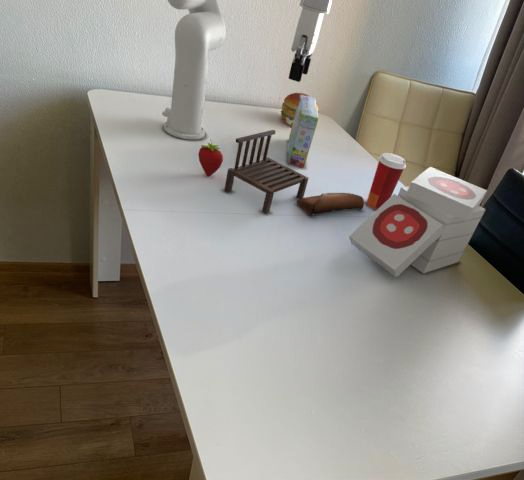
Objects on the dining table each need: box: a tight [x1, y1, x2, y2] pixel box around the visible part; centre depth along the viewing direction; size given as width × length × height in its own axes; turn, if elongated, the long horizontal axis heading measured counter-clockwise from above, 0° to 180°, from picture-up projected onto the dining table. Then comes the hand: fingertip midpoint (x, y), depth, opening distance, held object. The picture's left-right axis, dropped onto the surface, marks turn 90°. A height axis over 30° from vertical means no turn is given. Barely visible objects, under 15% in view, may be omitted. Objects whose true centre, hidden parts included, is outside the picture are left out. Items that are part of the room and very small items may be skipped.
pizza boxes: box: [348, 166, 488, 278], centre depth 127 cm, size 19×30×18 cm, turn 128°
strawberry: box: [197, 138, 224, 177], centre depth 140 cm, size 6×8×10 cm
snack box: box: [287, 95, 319, 168], centre depth 165 cm, size 21×6×15 cm, turn 179°
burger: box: [280, 92, 319, 126], centre depth 190 cm, size 14×14×10 cm
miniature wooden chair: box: [223, 129, 310, 215], centre depth 137 cm, size 14×17×14 cm
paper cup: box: [366, 152, 407, 211], centre depth 148 cm, size 8×8×14 cm
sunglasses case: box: [296, 192, 365, 216], centre depth 143 cm, size 18×7×7 cm
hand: (297, 76), depth 142 cm, fingers open, 9 cm apart
